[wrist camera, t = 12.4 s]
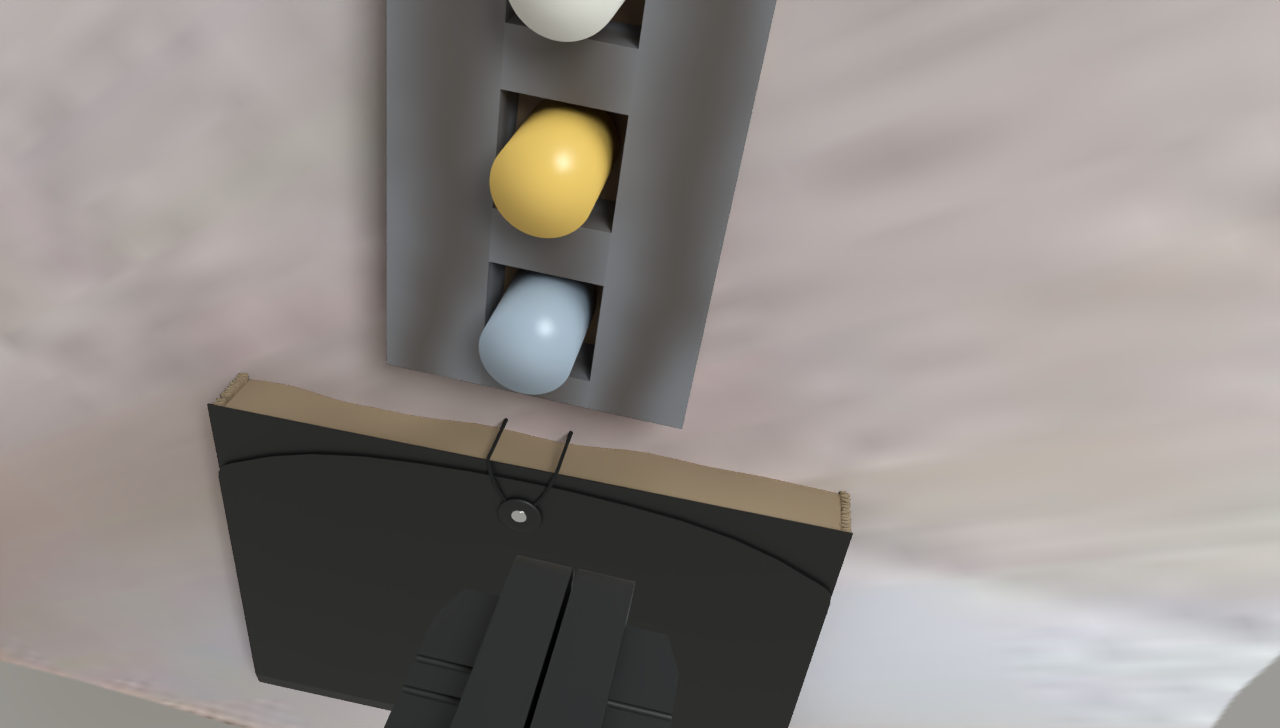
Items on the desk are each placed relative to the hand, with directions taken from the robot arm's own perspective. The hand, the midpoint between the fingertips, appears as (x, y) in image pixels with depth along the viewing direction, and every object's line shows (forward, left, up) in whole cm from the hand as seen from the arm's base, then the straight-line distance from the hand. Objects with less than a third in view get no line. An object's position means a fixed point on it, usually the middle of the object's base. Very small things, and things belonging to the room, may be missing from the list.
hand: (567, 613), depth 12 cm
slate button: (-6, -14, -29) cm, 33 cm away
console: (-6, -6, -31) cm, 32 cm away
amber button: (-6, -6, -29) cm, 31 cm away
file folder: (-6, -34, -32) cm, 47 cm away
